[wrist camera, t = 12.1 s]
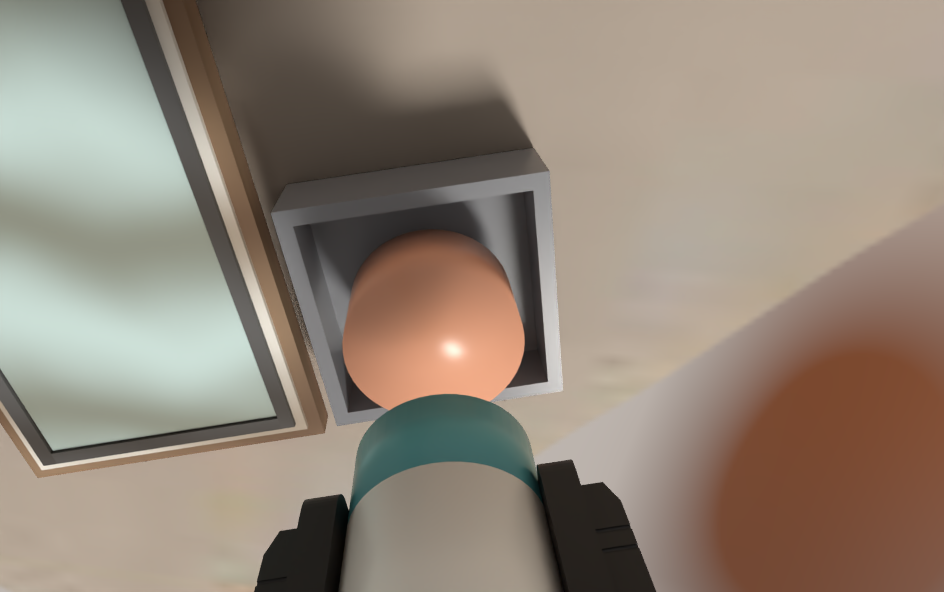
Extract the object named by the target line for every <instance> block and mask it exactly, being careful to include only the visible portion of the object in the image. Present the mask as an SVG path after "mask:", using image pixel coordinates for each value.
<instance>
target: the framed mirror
mask: <svg viewBox="0 0 944 592" xmlns="http://www.w3.org/2000/svg"><path fill="white" fill-rule="evenodd" d="M327 418H328V415H327V411H326V408H325V405H324V402H323V399H322V396H321V393H320V389H319V386H318V383H317V380H316V377H315V374H314V371H313V367H312V364H311V361H310V358H309V355H308V352H307V349H306V346H305V342H304V339H303V336H302V333H301V330H300V327H299V324H298V320H297V317H296V314H295V311H294V308H293V305H292V302H291V299H290V295H289V292H288V289H287V286H286V283H285V280H284V277H283V273H282V270H281V267H280V264H279V261H278V258H277V255H276V251H275V248H274V245H273V242H272V239H271V236H270V233H269V230H268V226H267V223H266V220H265V217H264V214H263V211H262V208H261V204H260V201H259V198H258V195H257V192H256V189H255V186H254V182H253V179H252V176H251V173H250V170H249V167H248V164H247V161H246V157H245V154H244V151H243V148H242V145H241V142H240V139H239V135H238V132H237V129H236V126H235V123H234V120H233V117H232V114H231V110H230V107H229V104H228V101H227V98H226V95H225V92H224V88H223V85H222V82H221V79H220V76H219V73H218V70H217V66H216V63H215V60H214V57H213V54H212V51H211V48H210V45H209V41H208V38H207V35H206V32H205V29H204V26H203V23H202V19H201V16H200V13H199V10H198V7H197V4H196V1H195V0H0V423H1V425H2V426H3V428H4V429H5V431H6V432H7V434H8V435H9V436H10V438H11V439H12V441H13V442H14V444H15V445H16V447H17V448H18V450H19V451H20V453H21V454H22V456H23V457H24V458H25V460H26V461H27V463H28V464H29V466H30V467H31V469H32V470H33V472H34V473H35V475H36V476H37V478H41V477H47V476H53V475H60V474H66V473H73V472H79V471H85V470H92V469H98V468H105V467H111V466H117V465H124V464H130V463H137V462H143V461H149V460H156V459H162V458H169V457H175V456H182V455H188V454H194V453H201V452H207V451H214V450H220V449H226V448H233V447H239V446H246V445H252V444H258V443H265V442H271V441H278V440H284V439H291V438H297V437H303V436H310V435H316V434H323V433H325V429H326V424H327Z"/></svg>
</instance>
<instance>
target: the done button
mask: <svg viewBox="0 0 944 592" xmlns="http://www.w3.org/2000/svg"><path fill="white" fill-rule="evenodd" d="M524 345H525V339H524V330H523V324H522V321H521V318H520V315H519V312H518V308H517V305H516V302H515V299H514V295H513V292H512V289H511V286H510V282H509V279H508V277H507V274H506V272H505V270H504V268H503V266H502V264H501V263H500V262H499V260H498V259H497V257H496V256H495V255H494V254H493V253H492V252H491V251H490V250H489V249H487V248H486V247H485V246H484V245H482V244H481V243H479V242H477V241H476V240H474V239H472V238H470V237H468V236H465V235H463V234H460V233H456V232H453V231H447V230H437V229H427V230H418V231H413V232H408V233H405V234H402V235H399V236H397V237H395V238H393V239H391V240H389V241H387V242H385V243H384V244H382V245H381V246H379V247H378V248H377V249H376V250H375V251H373V252H372V253H371V254H370V255H369V256H368V258H367V259H366V260H365V261H364V262H363V264H362V265H361V267H360V268H359V270H358V272H357V274H356V277H355V279H354V282H353V286H352V290H351V295H350V301H349V306H348V312H347V317H346V322H345V328H344V333H343V342H342V346H343V356H344V361H345V365H346V367H347V370H348V372H349V374H350V376H351V378H352V380H353V381H354V383H355V384H356V385H357V387H358V388H359V389H360V390H361V391H362V392H363V393H364V394H365V395H366V396H367V397H368V398H369V399H371V400H372V401H373V402H375V403H376V404H378V405H380V406H381V407H383V408H385V409H387V410H391V409H392V408H394V407H396V406H398V405H400V404H402V403H404V402H407V401H410V400H413V399H416V398H419V397H424V396H429V395H437V394H460V395H468V396H472V397H477V398H480V399H483V400H486V401H489V402H490V401H491V400H492V399H494V398H495V397H496V396H498V395H499V394H500V393H501V392H502V391H503V390H504V389H505V388H506V387H507V385H508V384H509V383H510V382H511V381H512V379H513V377H514V376H515V374H516V373H517V370H518V368H519V366H520V364H521V360H522V357H523V353H524Z"/></svg>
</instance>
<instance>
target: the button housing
mask: <svg viewBox="0 0 944 592" xmlns="http://www.w3.org/2000/svg"><path fill="white" fill-rule="evenodd" d="M271 216H272V219H273V222H274V226H275V229H276V232H277V235H278V238H279V242H280V245H281V248H282V251H283V254H284V258H285V261H286V264H287V267H288V270H289V274H290V277H291V280H292V283H293V286H294V290H295V293H296V296H297V299H298V302H299V306H300V309H301V312H302V315H303V318H304V322H305V325H306V328H307V331H308V334H309V338H310V341H311V344H312V347H313V350H314V354H315V357H316V360H317V363H318V366H319V370H320V373H321V376H322V379H323V382H324V386H325V389H326V392H327V395H328V398H329V402H330V405H331V408H332V411H333V414H334V418H335V421H336V424H337V426H341V425H347V424H354V423H360V422H366V421H373V420H377V419H378V418H379V417H381V416H382V415H383V414H385V413H386V412H387V411H389V410H387V409H385V408H383V407H381V406H380V405H378V404H376V403H375V402H373V401H372V400H371V399H369V398H368V397H367V396H366V395H365V394H364V393H363V392H362V391H361V390H360V389H359V388H358V387H357V385H356V384H355V383H354V381H353V380H352V378H351V376H350V374H349V372H348V370H347V367H346V365H345V361H344V356H343V346H342V342H343V333H344V328H345V322H346V317H347V312H348V306H349V301H350V295H351V290H352V286H353V282H354V279H355V277H356V274H357V272H358V270H359V268H360V267H361V265H362V264H363V262H364V261H365V260H366V259H367V258H368V256H369V255H370V254H371V253H372V252H373V251H375V250H376V249H377V248H378V247H379V246H381V245H382V244H384V243H385V242H387V241H389V240H391V239H393V238H395V237H397V236H399V235H402V234H405V233H408V232H413V231H418V230H427V229H437V230H447V231H453V232H456V233H460V234H463V235H465V236H468V237H470V238H472V239H474V240H476V241H477V242H479V243H481V244H482V245H484V246H485V247H486V248H487V249H489V250H490V251H491V252H492V253H493V254H494V255H495V256H496V257H497V259H498V260H499V262H500V263H501V264H502V266H503V268H504V270H505V272H506V274H507V277H508V279H509V282H510V286H511V289H512V292H513V295H514V299H515V302H516V305H517V308H518V312H519V315H520V318H521V321H522V324H523V330H524V339H525V345H524V353H523V357H522V360H521V364H520V366H519V368H518V370H517V373H516V374H515V376H514V377H513V379H512V381H511V382H510V383H509V384H508V385H507V387H506V388H505V389H504V390H503V391H502V392H501V393H500V394H499V395H498V396H496V397H495V398H494V399H492V400H491V401H490V402H495V401H501V400H508V399H514V398H520V397H527V396H533V395H540V394H546V393H552V392H559V391H563V383H562V367H561V351H560V334H559V318H558V302H557V285H556V269H555V253H554V237H553V220H552V204H551V188H550V171H549V170H548V168H547V167H546V165H545V164H544V162H543V161H542V159H541V158H540V156H539V155H538V153H537V152H536V150H535V149H534V148H528V149H522V150H515V151H508V152H502V153H495V154H488V155H481V156H475V157H468V158H461V159H455V160H448V161H441V162H434V163H428V164H421V165H414V166H408V167H401V168H394V169H387V170H381V171H374V172H367V173H361V174H354V175H347V176H340V177H334V178H327V179H320V180H314V181H307V182H300V183H293V184H287V185H286V187H285V188H284V190H283V192H282V194H281V195H280V197H279V199H278V201H277V202H276V204H275V206H274V208H273V209H272V211H271Z"/></svg>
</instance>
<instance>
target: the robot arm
mask: <svg viewBox="0 0 944 592" xmlns="http://www.w3.org/2000/svg"><path fill="white" fill-rule="evenodd" d="M537 478H538V484H539V488H540V493H541V497H542V501H543V505H544V509H545V514H546V518H547V522H548V526H549V531H550V535H551V539H552V543H553V547H554V552H555V556H556V560H557V564H558V569H559V573H560V577H561V581H562V586H563V590H564V592H656V590H655V588H654V585H653V582H652V580H651V577H650V575H649V572H648V569H647V567H646V564H645V562H644V559H643V557H642V554H641V551H640V549H639V548H638V545H637V541H636V539H635V536H634V533H633V531H632V529H631V528H630V523H629V521H628V518H627V515H626V513H625V510H624V508H623V505H622V503H621V500H620V499H619V498H618V497H617V496H616V495H615V494H614V493H613V492H612V491H611V490H610V489H609V488H608V487H607V486H606V485H605V484H604V483H603V482H601V483H594V484H587V485H581V484H580V481H579V478H578V475H577V472H576V469H575V466H574V463H573V461H572V460H565V461H558V462H552V463H545V464H539V465H537ZM348 516H349V510H348V507H347V504H346V501H345V498H344V496H343V495H342V494H339V495H333V496H326V497H320V498H313V499H307V500H305V501H304V502H303V505H302V508H301V513H300V517H299V522H298V527H297V529H291V530H284V531H280V532H279V533H278V535H277V536H276V538H275V539H274V541H273V542H272V544H271V545H270V547H269V548H268V550H267V551H266V553H265V554H264V556H263V560H262V564H261V568H260V571H259V575H258V579H257V586H256V587H255V591H254V592H338V591H339V583H340V576H341V568H342V561H343V553H344V546H345V538H346V531H347V523H348Z"/></svg>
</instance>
